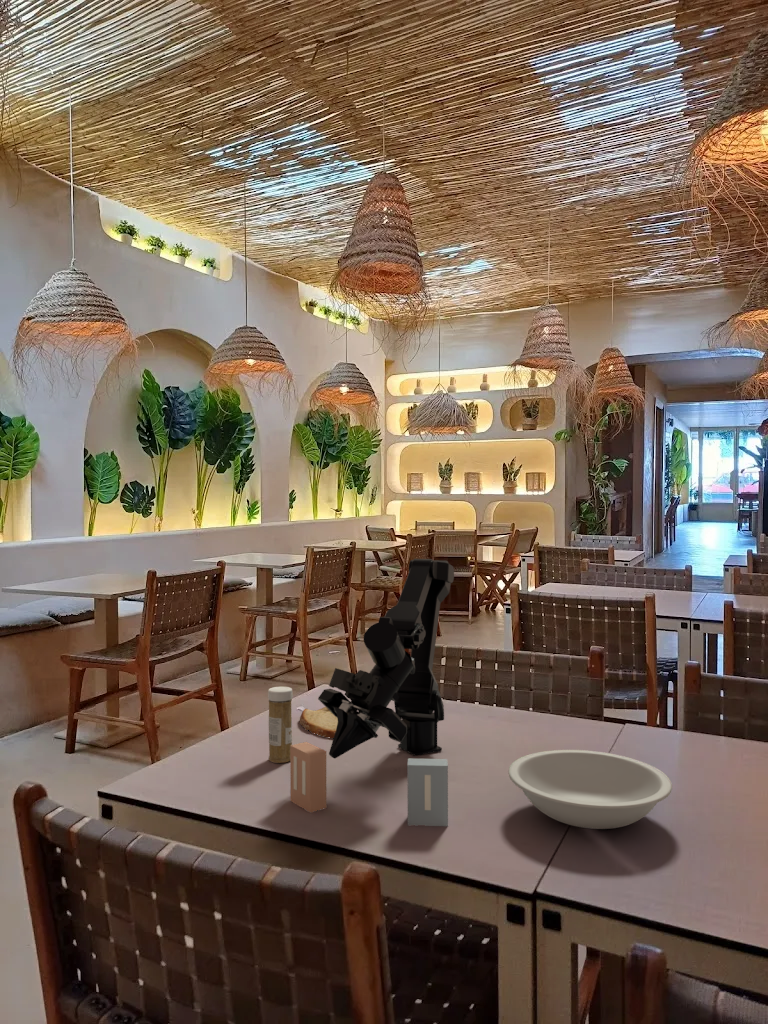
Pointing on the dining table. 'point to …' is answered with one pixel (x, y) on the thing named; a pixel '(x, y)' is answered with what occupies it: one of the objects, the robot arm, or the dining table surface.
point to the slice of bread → (319, 722)
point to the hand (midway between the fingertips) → (331, 756)
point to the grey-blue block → (427, 792)
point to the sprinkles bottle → (280, 724)
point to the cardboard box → (308, 776)
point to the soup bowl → (590, 787)
